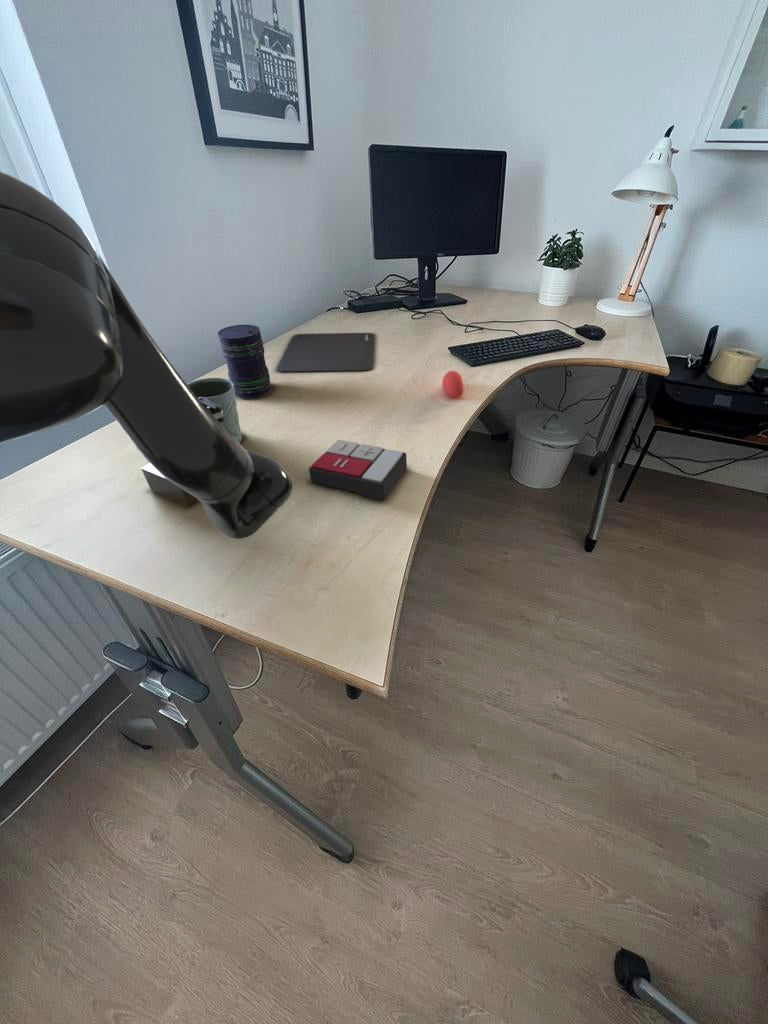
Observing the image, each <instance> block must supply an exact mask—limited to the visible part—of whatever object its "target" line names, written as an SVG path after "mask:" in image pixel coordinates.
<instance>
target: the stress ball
mask: <svg viewBox="0 0 768 1024" xmlns="http://www.w3.org/2000/svg"><path fill="white" fill-rule="evenodd" d="M441 384H442V388H443V390H444V392H445V394H447V395H448V396H449V397H451V398H454V399H458V398H460V397H461V396H462V395H463V393H464V382H463V378H462V375H461V374H460V373H459V372H458V371H455V370H450V371H448V372H446V373H445V374H444V376H443V377H442V383H441Z"/></svg>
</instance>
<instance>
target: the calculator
mask: <svg viewBox="0 0 768 1024" xmlns="http://www.w3.org/2000/svg"><path fill="white" fill-rule="evenodd" d="M407 461H408V460H407V453H406V452H404V451H400V450H394V449H389V448H383V447H382V446H377V445H371V444H365V443H361V444H360V443H359V442H354V441H349V440H342V439H337V440H336V441H335V442H334V443H332V445H331V446H330V447H329V448H328V449H326V451H325V452H324V453H322V455H320V456H319V457H318V458H317V459H316V460H315V461H314V462H313V463H312V464H311V465H310V466H309V468H308V472H309V477H310V482H311V483H312V484H318V485H323V486H326V487H331V488H335V489H340V490H343V491H344V490H345V491H349V492H354V493H358V494H361V495H362V496H363V497H365V498H369V499H373V500H378V501H383V502H384V501H385V500H386V499H387V497H388V496H389V494H390V493H391V492H392V491H393V489H394V488H395V486H396V485H397V484H398V483H399V480H400V479H401V478H402V477H403V476H404V474H405V472H406V471H407V470H408V464H407V463H408V462H407Z"/></svg>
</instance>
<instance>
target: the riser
mask: <svg viewBox="0 0 768 1024" xmlns="http://www.w3.org/2000/svg"><path fill="white" fill-rule="evenodd" d="M141 472H142V474H143V476H144V478H145V480H146V483H147V484H148V486H149V489H150V491H151V492H153V493H155V494H158V495H160V496H162V497H165V498H167V499H168V500H171V501H173V502H176V503H177V504H180V505H183V506H185V507H187V508H191V506H193V505H194V504H196V503H197V502H200V501H199V500H198V499H197V498H195V497H194V496H192V495H191V494H189V493H188V492H186V491H184V490H183V489H181V488H180V487H178V486H177V485H175V484H174V483H172V482H171V481H169V480H168V479H166V478H165V477H164V476H163V475H162V474H161V473H159V472H158V471H157V470H156V469H155V468H154V467H153V466H152V465H151V464H150V463H148V464H146V465H145V466H142V467H141Z"/></svg>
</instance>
